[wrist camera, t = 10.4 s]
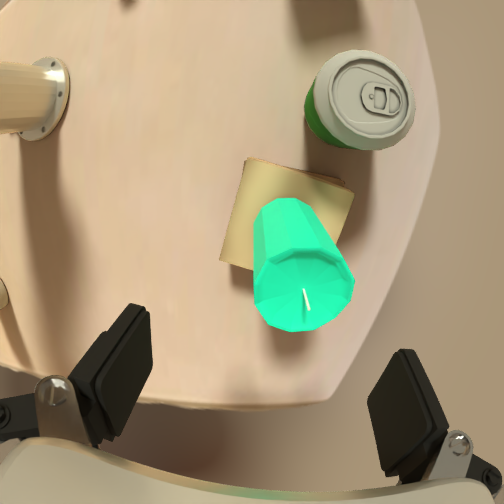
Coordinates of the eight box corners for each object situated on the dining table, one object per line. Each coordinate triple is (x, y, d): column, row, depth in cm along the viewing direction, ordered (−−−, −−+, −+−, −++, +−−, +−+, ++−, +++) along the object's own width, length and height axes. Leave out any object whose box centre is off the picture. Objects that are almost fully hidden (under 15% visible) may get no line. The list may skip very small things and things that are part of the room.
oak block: (224, 249, 31) (218, 260, 28) (250, 156, 27) (247, 158, 24) (314, 276, 31) (316, 289, 28) (347, 188, 27) (355, 194, 24)
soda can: (370, 152, 28) (418, 160, 16) (300, 142, 28) (312, 143, 17) (374, 85, 25) (421, 59, 14) (304, 75, 25) (317, 36, 14)
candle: (310, 188, 24) (355, 243, 13) (325, 249, 27) (366, 333, 16) (243, 208, 25) (236, 277, 14) (263, 267, 27) (269, 360, 17)
